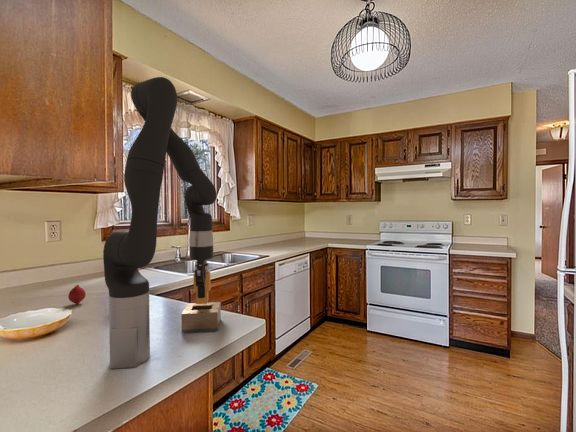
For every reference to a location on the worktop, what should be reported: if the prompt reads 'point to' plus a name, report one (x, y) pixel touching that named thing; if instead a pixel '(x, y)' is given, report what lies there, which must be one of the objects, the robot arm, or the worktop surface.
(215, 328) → the base
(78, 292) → the onion
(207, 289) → the orange stepped block
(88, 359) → the worktop surface
